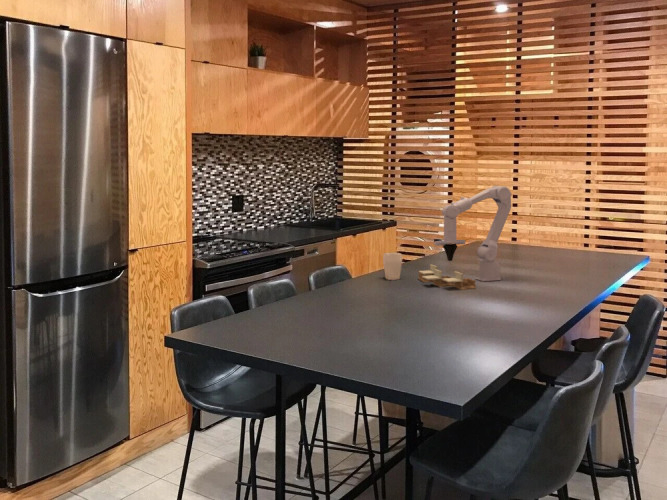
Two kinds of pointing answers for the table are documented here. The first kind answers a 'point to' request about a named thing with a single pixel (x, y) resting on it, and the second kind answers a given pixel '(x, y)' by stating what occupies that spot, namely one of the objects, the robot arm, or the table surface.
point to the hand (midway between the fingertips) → (449, 260)
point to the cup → (392, 265)
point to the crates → (456, 284)
